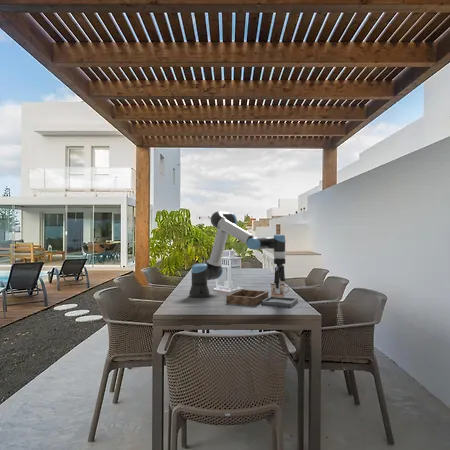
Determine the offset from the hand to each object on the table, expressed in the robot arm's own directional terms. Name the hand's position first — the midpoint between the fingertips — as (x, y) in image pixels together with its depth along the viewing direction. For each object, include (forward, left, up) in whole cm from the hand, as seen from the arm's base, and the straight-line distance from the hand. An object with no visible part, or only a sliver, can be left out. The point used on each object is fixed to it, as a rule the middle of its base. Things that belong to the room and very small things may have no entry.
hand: (279, 292), depth 226 cm
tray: (0, 0, -7) cm, 7 cm away
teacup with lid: (0, 0, -3) cm, 3 cm away
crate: (-23, 0, -7) cm, 24 cm away
